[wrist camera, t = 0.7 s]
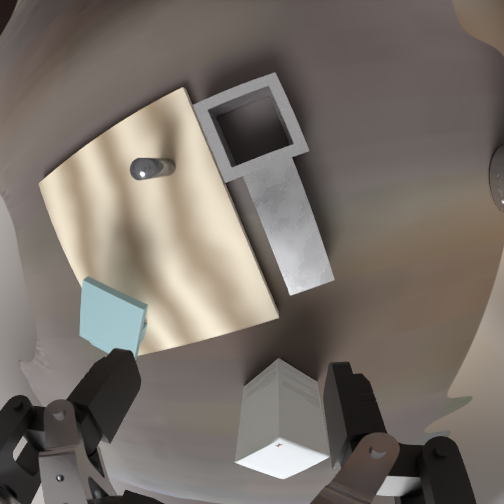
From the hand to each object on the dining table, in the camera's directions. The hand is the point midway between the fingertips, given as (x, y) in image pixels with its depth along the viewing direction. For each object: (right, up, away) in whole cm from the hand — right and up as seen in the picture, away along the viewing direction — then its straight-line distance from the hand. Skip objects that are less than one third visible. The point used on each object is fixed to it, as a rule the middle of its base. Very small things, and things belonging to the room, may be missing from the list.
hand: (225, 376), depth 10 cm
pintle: (-7, +14, +17) cm, 23 cm away
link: (+3, +11, +17) cm, 21 cm away
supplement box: (+5, -13, +25) cm, 28 cm away
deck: (-11, +6, +19) cm, 23 cm away
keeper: (-13, 0, +21) cm, 25 cm away
